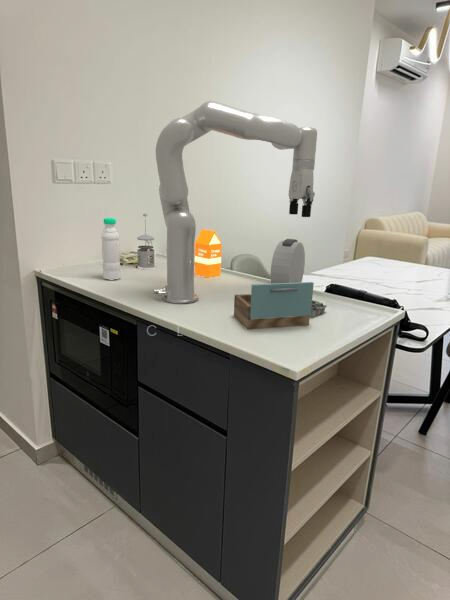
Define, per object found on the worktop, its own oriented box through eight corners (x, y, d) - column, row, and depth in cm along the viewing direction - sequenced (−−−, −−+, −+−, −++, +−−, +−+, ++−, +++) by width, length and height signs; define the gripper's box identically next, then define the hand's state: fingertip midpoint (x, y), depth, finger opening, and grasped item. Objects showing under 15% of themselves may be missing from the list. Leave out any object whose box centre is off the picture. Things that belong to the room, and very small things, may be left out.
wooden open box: (247, 329, 130) (248, 306, 128) (233, 315, 142) (234, 294, 140) (308, 325, 136) (310, 303, 134) (291, 312, 148) (292, 291, 146)
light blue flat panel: (252, 319, 127) (254, 286, 124) (250, 317, 129) (251, 284, 126) (312, 315, 132) (315, 283, 130) (309, 314, 134) (312, 281, 131)
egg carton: (310, 320, 141) (311, 307, 140) (291, 314, 146) (291, 302, 145) (328, 313, 149) (329, 301, 148) (309, 308, 154) (310, 296, 153)
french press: (132, 268, 205) (130, 213, 198) (141, 263, 216) (139, 211, 209) (152, 270, 203) (152, 214, 196) (160, 265, 214) (160, 212, 207)
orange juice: (207, 272, 202) (208, 228, 196) (220, 276, 196) (222, 230, 190) (194, 275, 196) (194, 229, 191) (208, 278, 190) (209, 232, 185)
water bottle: (124, 278, 185) (122, 218, 179) (111, 281, 180) (109, 219, 173) (112, 276, 189) (109, 216, 182) (99, 279, 183) (96, 217, 176)
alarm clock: (286, 281, 189) (289, 235, 184) (303, 284, 186) (307, 237, 181) (269, 292, 171) (272, 241, 165) (287, 295, 168) (291, 243, 162)
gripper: (282, 165, 161) (279, 213, 165) (305, 165, 145) (301, 218, 150) (301, 166, 163) (297, 213, 168) (325, 166, 147) (320, 218, 152)
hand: (299, 215), depth 159 cm, fingers open, 9 cm apart
